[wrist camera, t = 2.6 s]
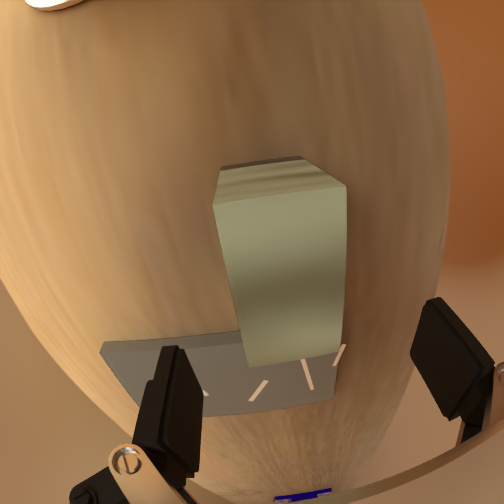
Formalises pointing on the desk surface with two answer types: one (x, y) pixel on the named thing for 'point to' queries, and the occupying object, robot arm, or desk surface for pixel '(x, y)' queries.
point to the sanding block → (284, 256)
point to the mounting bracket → (302, 496)
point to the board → (227, 373)
